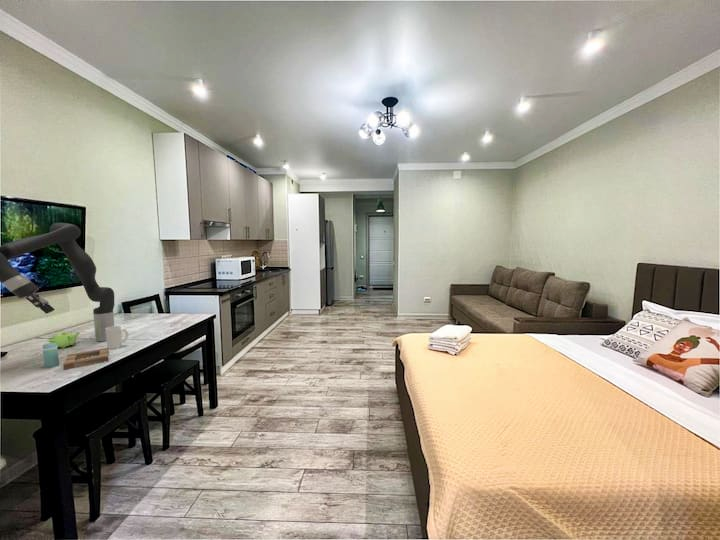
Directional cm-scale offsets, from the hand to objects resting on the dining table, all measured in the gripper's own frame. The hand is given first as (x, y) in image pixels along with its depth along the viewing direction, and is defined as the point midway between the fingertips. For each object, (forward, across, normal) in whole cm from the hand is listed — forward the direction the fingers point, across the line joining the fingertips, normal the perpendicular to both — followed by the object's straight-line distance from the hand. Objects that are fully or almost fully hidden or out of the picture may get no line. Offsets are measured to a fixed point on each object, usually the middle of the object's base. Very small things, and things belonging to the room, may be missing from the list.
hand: (50, 311), depth 139 cm
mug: (+35, +13, -6) cm, 38 cm away
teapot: (+19, +34, +13) cm, 41 cm away
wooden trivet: (+29, -1, +5) cm, 30 cm away
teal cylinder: (+22, +1, +16) cm, 27 cm away
